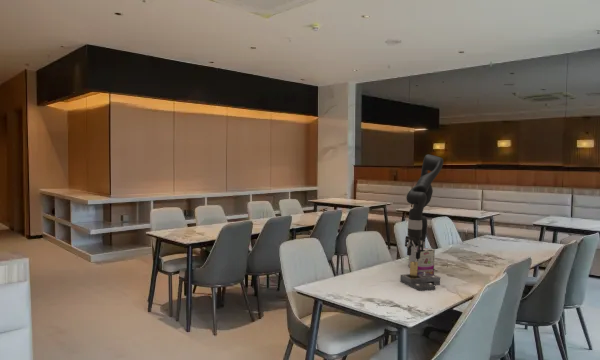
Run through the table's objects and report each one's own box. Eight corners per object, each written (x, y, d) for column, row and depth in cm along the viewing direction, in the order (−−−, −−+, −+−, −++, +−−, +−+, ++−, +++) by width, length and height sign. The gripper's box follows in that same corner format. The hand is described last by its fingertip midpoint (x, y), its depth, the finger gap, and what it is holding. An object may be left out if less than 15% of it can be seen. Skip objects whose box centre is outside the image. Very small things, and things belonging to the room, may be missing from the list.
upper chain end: (400, 281, 247) (400, 273, 247) (428, 279, 254) (429, 271, 253) (410, 286, 238) (410, 278, 238) (439, 284, 244) (440, 276, 244)
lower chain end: (400, 281, 247) (400, 277, 247) (415, 280, 251) (415, 276, 251) (419, 291, 230) (419, 286, 230) (435, 289, 234) (435, 284, 234)
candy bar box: (429, 275, 264) (430, 248, 264) (433, 277, 260) (435, 249, 259) (412, 275, 262) (413, 248, 261) (416, 278, 257) (418, 250, 256)
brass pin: (407, 282, 245) (408, 261, 245) (414, 282, 247) (415, 261, 246) (412, 284, 242) (413, 263, 241) (418, 284, 243) (419, 262, 243)
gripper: (428, 230, 237) (426, 259, 238) (413, 225, 251) (411, 253, 252) (416, 230, 235) (414, 260, 236) (401, 225, 248) (400, 254, 249)
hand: (413, 257), depth 244 cm, fingers open, 8 cm apart
